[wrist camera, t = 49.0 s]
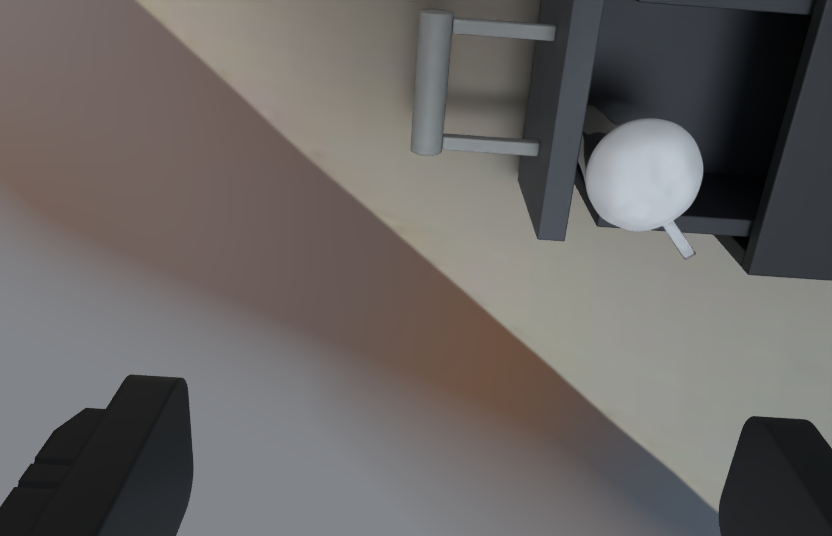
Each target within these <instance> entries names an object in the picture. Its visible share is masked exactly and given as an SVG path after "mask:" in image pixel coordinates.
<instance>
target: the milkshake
mask: <svg viewBox="0 0 832 536" xmlns="http://www.w3.org/2000/svg"><path fill="white" fill-rule="evenodd" d="M578 162H579V165H580V167H581V171H582V174H583V178H584V182H585V186H586V190H587V194H588V197H589V199H590V201H591V203H592V205H593V207H594V209H595V210H596V212H597V213H598V214H599V215H600V216H601V217H602V218H603V219H604V220H605V221H607V222H609V223H611V224H613V225H615V226H618V227H620V228H623V229H626V230H630V231H647V230H652V229H655V228H658V227H661V226H663V227H664V229H665V230H666V232H667V234H668V235H669V237H670V238H671V240H672V241H673V243H674V244H675V246H676V247H677V249H678V250H679V252H680V253H681V255H682V256H683V258H684V259H688V258H690V257H692V256H694V255H695V252H694V250H693V249H692V247H691V246H690V244H689V243H688V241H687V240H686V238H685V237H684V235H683V234H682V232H681V231H680V229H679V228H678V226H677V225H676V223H675V222H674V220H675V219H676V218H677V217H679V216H680V215H681V214H683V213H684V212H685V211H686V210H687V209H688V208H689V207H690V206H691V204H692V203H693V201H694V200H695V198H696V196H697V194H698V191H699V189H700V186H701V182H702V177H703V161H702V157H701V154H700V151H699V148H698V146H697V144H696V142H695V140H694V139H693V137H692V136H691V135H690V134H689V133H688V132H687V131H686V130H685V129H683V128H682V127H681V126H679V125H677V124H675V123H673V122H670V121H667V120H664V119H661V118H659V117H656V116H653V115H650V114H647V113H644V112H641V111H639V110H637V109H635V108H632V107H630V106H628V105H626V104H624V103H622V102H619V101H617V100H615V99H613V98H611V97H608V98H603V99H599V100H594V101H589V102H588V104H587V110H586V116H585V122H584V128H583V134H582V140H581V146H580V152H579V158H578Z"/></svg>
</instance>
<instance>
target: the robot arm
mask: <svg viewBox="0 0 832 536" xmlns="http://www.w3.org/2000/svg"><path fill="white" fill-rule="evenodd" d="M192 481H193V452H192V438H191V424H190V410H189V397H188V387H187V383H186V381H185V379H183V378H175V377H160V376H143V375H129V376H127V377H126V378H125V380H124V381H123V383H122V384H121V386H120V388H119V389H118V391H117V392H116V394H115V395H114V397H113V398H112V400H111V402H110V403H109V405H108V406H107V408H106V409H94V408H85V409H84V410H82V411H81V412H80V413H78V414H77V415H75V416H74V417H73V418H71V419H70V420H68V421H67V422H65V423H64V424H63V425H61V426H60V427H58V428H57V429H56V430H54V431H53V433H52V434H51V436H50V437H49V439H48V440H47V441H46V443H45V444H44V446H43V447H42V449H41V450H40V451H39V453H38V454H37V456H36V457H35V462H34V464H30V466H29V467H28V469H27V470H26V471H25V473H24V474H23V475H22V477H21V478H20V480H19V484H18V487H14V488H13V490H12V491H11V492H10V494H9V495H8V497H7V498H6V500H5V501H4V502H3V504H2V505H1V507H0V536H176V534H177V532H178V529H179V527H180V524H181V522H182V519H183V517H184V514H185V512H186V509H187V506H188V502H189V498H190V493H191V488H192ZM719 526H720V532H721V536H832V449H831V447H830V446H829V445H828V443H827V442H826V440H825V439H824V438H823V436H822V435H821V434H820V432H819V431H818V430H817V428H816V427H815V426H814V425H813V424H812V423H811V422H810V421H808V420H804V419H789V418H773V417H758V416H753V417H750V418H749V419H748V420H747V421H746V422H745V424H744V426H743V428H742V431H741V434H740V437H739V441H738V444H737V447H736V450H735V453H734V457H733V460H732V463H731V466H730V469H729V473H728V476H727V479H726V482H725V485H724V489H723V492H722V495H721V499H720V504H719Z"/></svg>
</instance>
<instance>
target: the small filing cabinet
mask: <svg viewBox="0 0 832 536" xmlns="http://www.w3.org/2000/svg"><path fill="white" fill-rule="evenodd" d="M713 235H714V234H713ZM714 236H715V237H716V238H717V239H718V241H719V242H720V243H721V244H722V245H723V246H724V247H725V249H726V250H727V251H728V252H729V253H730V254H731V256H732V257H733V258H734V259H735V260H736V261H737V262H738V264H739V265H740V266H741V267H742V268H743V269H744V271H745V272H746V273H747V274H748V275H758V276H773V277H788V278H802V279H817V280H832V0H817V1H816V4H815V8H814V11H813V15H812V19H811V22H810V26H809V29H808V33H807V36H806V40H805V44H804V47H803V51H802V54H801V58H800V61H799V65H798V68H797V72H796V76H795V79H794V83H793V86H792V90H791V93H790V97H789V101H788V104H787V108H786V111H785V115H784V118H783V122H782V125H781V129H780V133H779V136H778V140H777V143H776V147H775V150H774V154H773V157H772V161H771V165H770V168H769V172H768V175H767V179H766V182H765V186H764V190H763V193H762V197H761V200H760V204H759V207H758V211H757V214H756V218H755V222H754V225H753V229H752V232H751V236H750V237H743V236H728V235H714Z"/></svg>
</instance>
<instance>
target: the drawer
mask: <svg viewBox="0 0 832 536" xmlns="http://www.w3.org/2000/svg"><path fill="white" fill-rule="evenodd" d="M816 1H817V0H542V2H541V9H540V17H539V23H525V22H512V21H498V20H484V19H471V18H457V17H454V18H453V13H452V12H449V11H444V10H432V9H426V10H421V11H420V18H419V32H418V47H417V62H416V76H415V91H414V106H413V120H412V135H411V151H412V152H413V153H416V154H419V155H425V156H433V155H438V154H440V153H441V152H442V149H443V150H455V151H469V152H484V153H498V154H512V155H521V160H520V167H519V175H518V182H519V185H520V188H521V191H522V194H523V197H524V200H525V203H526V206H527V209H528V212H529V215H530V218H531V221H532V224H533V227H534V230H535V233H536V236H537V239H539V240H554V241H564V240H565V235H566V229H567V223H568V217H569V211H570V205H571V199H572V193H573V187H574V184H575V186H576V187H577V189H578V191H579V193H580V195H581V197H582V199H583V201H584V203H585V205H586V206H587V208H588V210H589V212H590V214H591V216H592V218H593V220H594V222H595V223H596V225H597V226H598V227H612V228H620V227H618V226H615V225H613V224H611V223H609V222H607V221H605V220H604V219H603V218H602V217H601V216H600V215H599V214H598V213H597V212H596V210H595V209H594V207H593V205H592V203H591V201H590V199H589V197H588V194H587V190H586V186H585V182H584V178H583V174H582V171H581V167H580V165H579V162H578V158H579V152H580V146H581V140H582V134H583V128H584V122H585V116H586V110H587V104H588V102H589V101H594V100H599V99H603V98H608V97H611V98H613V99H615V100H617V101H619V102H622V103H624V104H626V105H628V106H630V107H632V108H635V109H637V110H639V111H641V112H644V113H647V114H650V115H653V116H656V117H659V118H661V119H664V120H667V121H670V122H673V123H675V124H677V125H679V126H681V127H682V128H683V129H685V130H686V131H687V132H688V133H689V134H690V135H691V136H692V137H693V139H694V140H695V142H696V144H697V146H698V148H699V151H700V154H701V157H702V161H703V177H702V182H701V186H700V189H699V191H698V194H697V196H696V198H695V200H694V201H693V203H692V204H691V206H690V207H689V208H688V209H687V210H686V211H685V212H684V213H683V214H681V215H680V216H679V217H677V218H676V219H675V220H674V222H675V223H676V225H677V226H678V228H679V229H680V231H681V232H685V233H699V234H714V235H728V236H743V237H750V236H751V232H752V229H753V225H754V222H755V218H756V214H757V211H758V207H759V204H760V200H761V197H762V193H763V190H764V186H765V182H766V179H767V175H768V172H769V168H770V165H771V161H772V157H773V154H774V150H775V147H776V143H777V140H778V136H779V133H780V129H781V125H782V122H783V118H784V115H785V111H786V108H787V104H788V101H789V97H790V93H791V90H792V86H793V83H794V79H795V76H796V72H797V68H798V65H799V61H800V58H801V54H802V51H803V47H804V44H805V40H806V36H807V33H808V29H809V26H810V22H811V19H812V15H813V11H814V8H815V4H816ZM452 33H453V34H462V35H476V36H490V37H503V38H517V39H531V40H536V47H535V55H534V62H533V70H532V77H531V85H530V92H529V100H528V107H527V115H526V122H525V130H524V137H523V139H513V138H499V137H485V136H471V135H457V134H443V130H444V118H445V107H446V95H447V84H448V72H449V61H450V49H451V37H452ZM652 230H656V231H666V230H665V229H664V227H663V226H661V227H658V228H655V229H652Z"/></svg>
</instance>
